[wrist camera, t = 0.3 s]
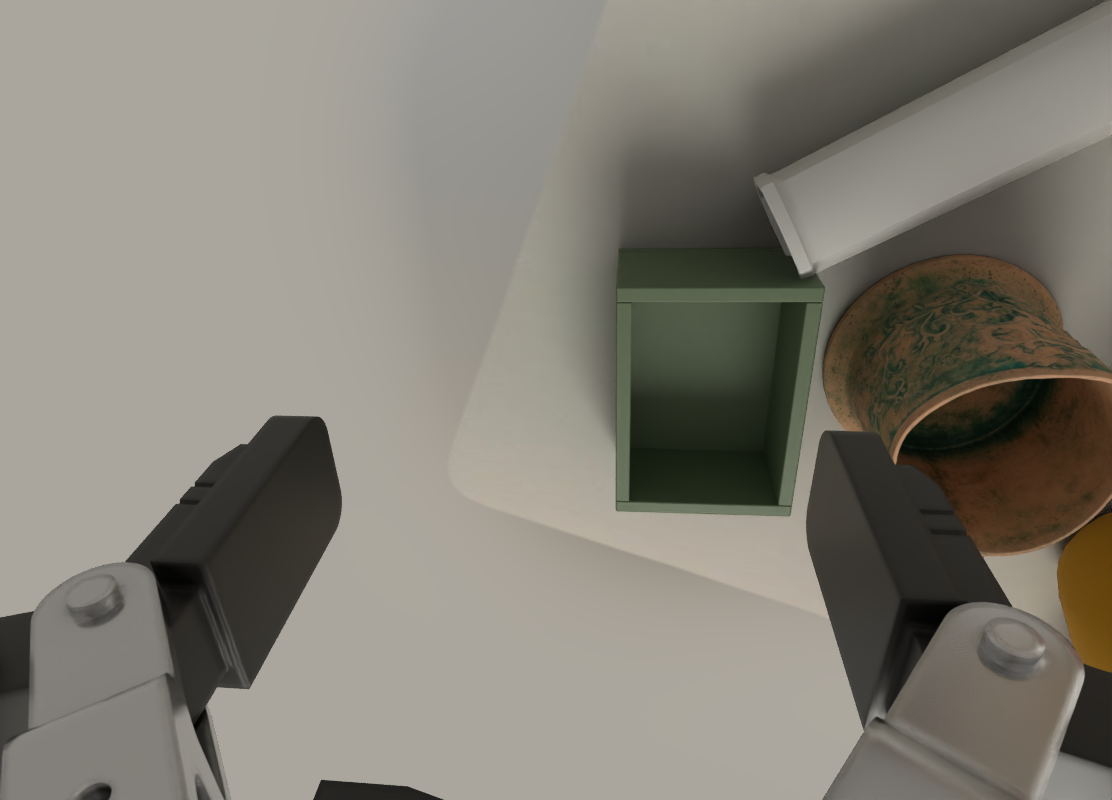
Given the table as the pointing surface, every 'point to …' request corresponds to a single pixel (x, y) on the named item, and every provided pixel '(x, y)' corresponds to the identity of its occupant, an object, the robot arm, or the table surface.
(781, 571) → the table surface
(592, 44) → the table surface
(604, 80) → the table surface
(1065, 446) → the mug
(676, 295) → the bin
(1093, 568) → the apple
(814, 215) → the tube
